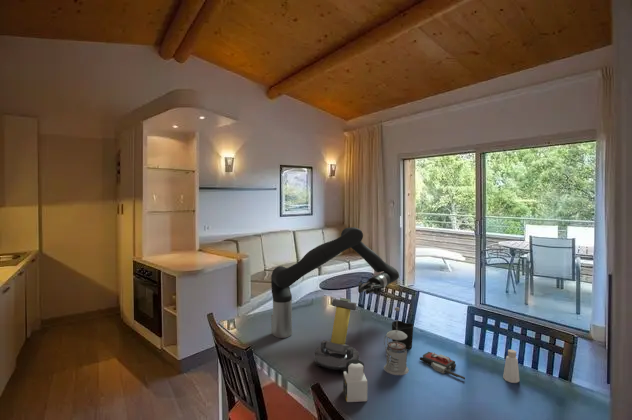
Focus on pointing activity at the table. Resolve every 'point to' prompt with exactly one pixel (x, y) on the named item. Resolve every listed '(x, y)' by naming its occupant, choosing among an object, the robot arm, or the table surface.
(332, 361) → the dark grey round stand
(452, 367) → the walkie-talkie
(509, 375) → the pepper shaker
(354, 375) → the medicine bottle
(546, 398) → the table surface
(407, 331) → the pen holder
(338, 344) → the yellow mallet
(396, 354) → the french press
